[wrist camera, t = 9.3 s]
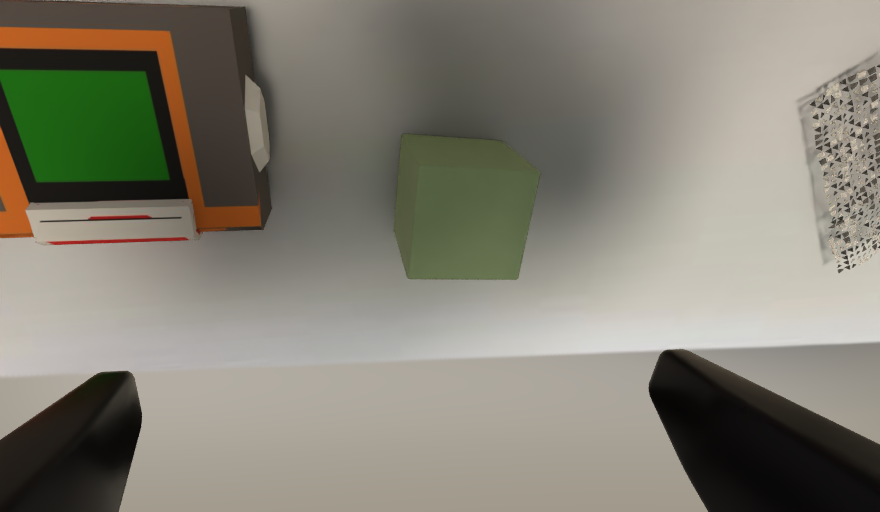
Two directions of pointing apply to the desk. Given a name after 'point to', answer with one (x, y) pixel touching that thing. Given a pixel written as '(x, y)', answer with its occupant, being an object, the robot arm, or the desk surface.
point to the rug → (831, 157)
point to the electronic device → (129, 123)
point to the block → (462, 207)
